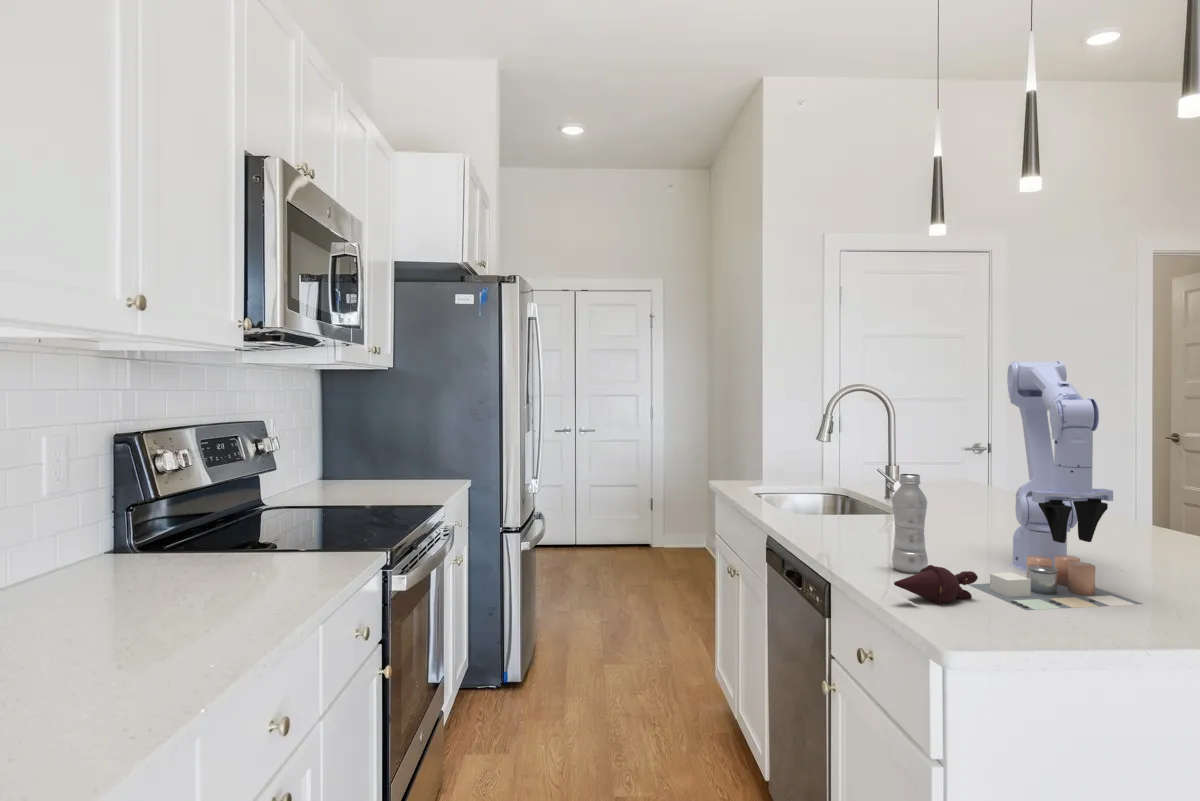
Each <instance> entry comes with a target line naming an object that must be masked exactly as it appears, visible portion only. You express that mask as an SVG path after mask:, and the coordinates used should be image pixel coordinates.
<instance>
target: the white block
mask: <svg viewBox="0 0 1200 801" xmlns="http://www.w3.org/2000/svg"><path fill="white" fill-rule="evenodd" d="M989 583H990V590H991V591H994V592H996V593H998V594H1001V595H1003V596H1006V597H1023V596H1031V579H1028V578H1027V576H1026V577H1025V576H1022V575H1021V574H1017V573H1015V572H997V573H995V572H994V573H989Z"/></svg>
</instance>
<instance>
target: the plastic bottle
mask: <svg viewBox="0 0 1200 801" xmlns="http://www.w3.org/2000/svg"><path fill="white" fill-rule="evenodd" d="M898 482H899V484H900V486H899V487H898V488H897V490H895V492H894V494H893V495H892V498H891V505H892V511H893V512H892V513H893V517H894V519H893V520H894V540H893V541H894V543H893V544H894V545H893V549H892V556H891V562H892V566H893V568H894V570H895V571H897V572H901V573H902V574H903V573H905V574H910V575H911V574H913V575H916V574H919V573H920V570H921V569H923V568H926V567H927V566H928V563H929V559H928V554H927V551H926V550H927V549H926V542H925V524H926V515H927V509H928V500H927V496H926V495H925V493H924V492H923V491H922V488H920V486H919V485H921V475H920V474H917V473H900V474H899V481H898Z"/></svg>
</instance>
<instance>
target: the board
mask: <svg viewBox="0 0 1200 801" xmlns="http://www.w3.org/2000/svg"><path fill="white" fill-rule="evenodd" d="M967 586H970V587H972V588H974V589H976V590H979V591H981V592H983V593H986V594H988V595H991V596H993V597H994V598H998V599H1000V600H1002V601H1004V602H1006V603H1008V604H1011V605H1013V606H1016V607H1018V608H1020V609H1023V610H1026V611H1037V610H1038V611H1041V610H1056V609H1075V608H1095V607H1096V608H1097V607H1113V606H1132V605H1133V606H1134V605H1135V606H1136V605H1144V603H1142V602H1140V601H1136V600H1134V599H1131V598H1127V597H1125V596H1122V595H1119V594H1117V593H1113V592H1110V591H1107V590H1105V589H1101V588H1098V587H1096V586H1095V595H1091V596H1087V595H1078V594H1074V593H1071V592H1069V591H1068V587H1066V586H1061V585H1057V594H1055V595H1043V594H1037V593H1033V592H1031V596H1023V597H1006V596H1003V595H1001V594H998V593H996V592H994V591H991V590H990V582H989V583H972V584H968V585H967Z"/></svg>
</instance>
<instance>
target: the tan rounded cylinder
mask: <svg viewBox="0 0 1200 801" xmlns="http://www.w3.org/2000/svg"><path fill="white" fill-rule="evenodd" d="M1095 587H1096V565H1095V564H1092V563H1087V562H1083V561H1080V562H1069V568H1068V591H1069V592H1071V593H1074V594H1078V595H1087V596H1091V595H1095Z"/></svg>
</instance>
